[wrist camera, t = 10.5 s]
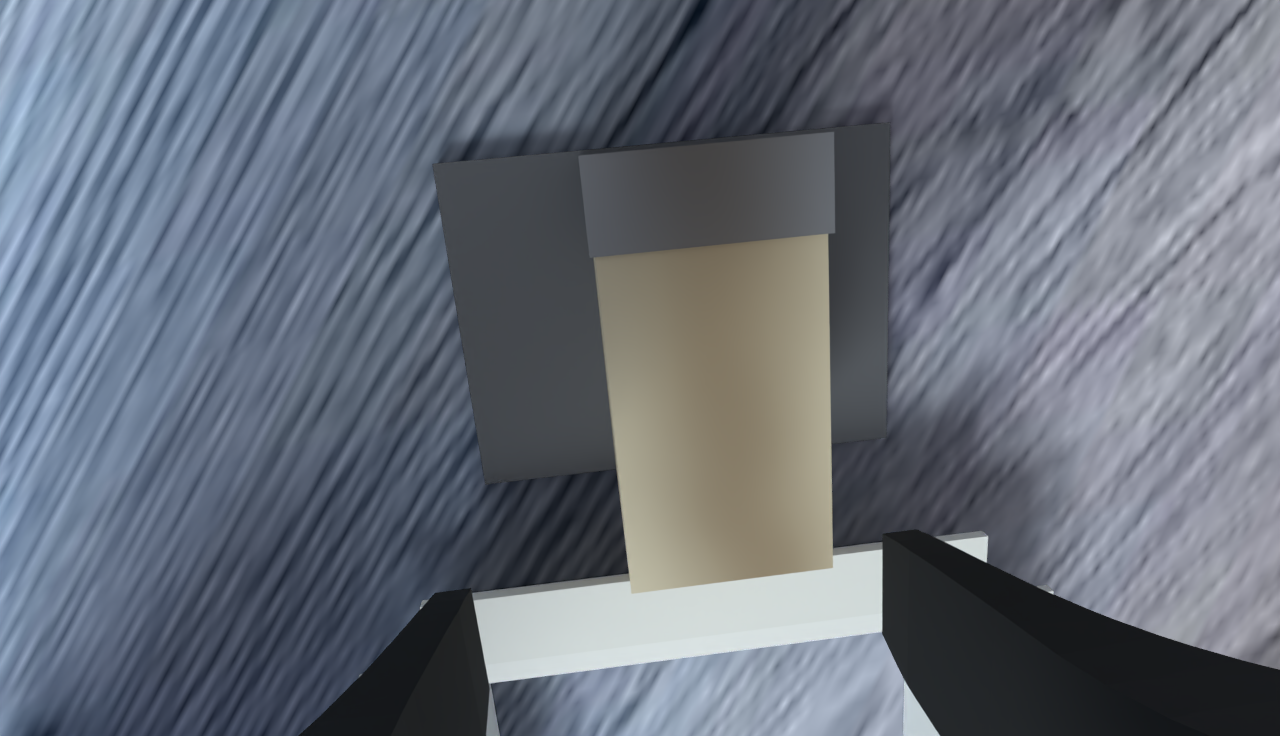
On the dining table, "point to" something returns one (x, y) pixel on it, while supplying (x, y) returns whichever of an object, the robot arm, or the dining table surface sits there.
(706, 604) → the white flat frame
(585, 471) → the rubber mat
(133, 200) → the dining table surface
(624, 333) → the birch block
